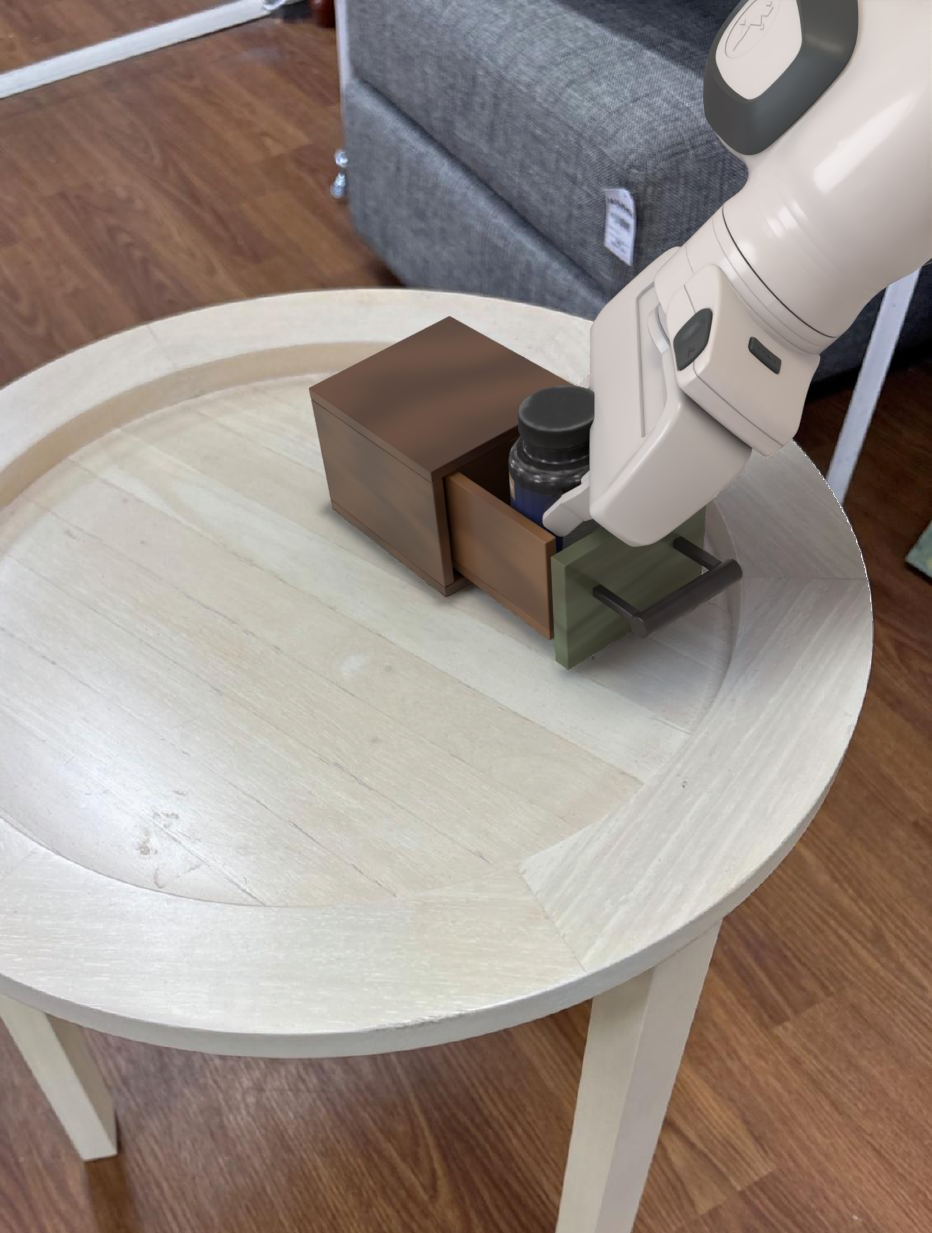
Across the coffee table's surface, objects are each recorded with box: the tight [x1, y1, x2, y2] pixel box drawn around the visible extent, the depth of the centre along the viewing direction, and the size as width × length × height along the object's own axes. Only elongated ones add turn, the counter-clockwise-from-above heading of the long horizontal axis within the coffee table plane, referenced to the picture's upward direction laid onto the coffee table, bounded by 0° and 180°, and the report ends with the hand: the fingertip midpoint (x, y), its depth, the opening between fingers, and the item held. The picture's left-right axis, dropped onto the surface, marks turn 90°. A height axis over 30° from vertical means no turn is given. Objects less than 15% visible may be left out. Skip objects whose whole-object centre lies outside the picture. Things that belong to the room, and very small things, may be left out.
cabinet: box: [308, 315, 574, 597], centre depth 86 cm, size 14×12×10 cm
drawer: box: [442, 435, 744, 671], centre depth 77 cm, size 17×10×8 cm, turn 33°
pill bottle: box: [508, 384, 603, 554], centre depth 77 cm, size 6×6×11 cm
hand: (552, 484), depth 76 cm, fingers closed on pill bottle, 6 cm apart
